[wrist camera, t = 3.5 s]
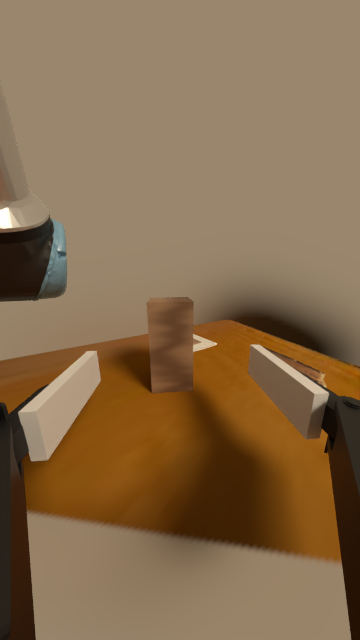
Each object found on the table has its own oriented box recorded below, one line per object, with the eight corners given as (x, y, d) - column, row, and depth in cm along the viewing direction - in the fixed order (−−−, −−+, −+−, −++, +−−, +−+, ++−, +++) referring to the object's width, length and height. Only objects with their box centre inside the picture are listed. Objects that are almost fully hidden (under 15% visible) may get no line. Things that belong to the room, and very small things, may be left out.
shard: (261, 353, 32) (262, 344, 32) (311, 361, 29) (313, 351, 28) (260, 385, 23) (262, 372, 22) (334, 402, 19) (337, 388, 19)
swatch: (158, 341, 38) (158, 339, 38) (190, 334, 43) (190, 332, 43) (181, 355, 31) (181, 353, 30) (216, 344, 35) (217, 342, 35)
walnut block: (151, 393, 20) (146, 302, 18) (154, 371, 25) (150, 298, 23) (192, 390, 21) (193, 301, 18) (187, 369, 26) (187, 297, 23)
